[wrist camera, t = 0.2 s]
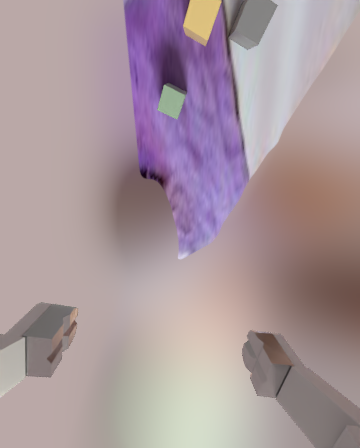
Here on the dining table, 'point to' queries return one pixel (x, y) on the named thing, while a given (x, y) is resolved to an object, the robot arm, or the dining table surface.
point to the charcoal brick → (252, 22)
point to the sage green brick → (171, 100)
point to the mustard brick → (201, 19)
